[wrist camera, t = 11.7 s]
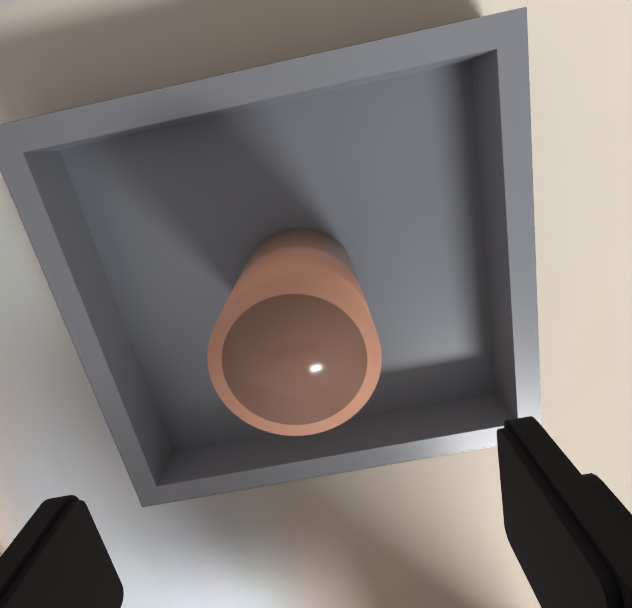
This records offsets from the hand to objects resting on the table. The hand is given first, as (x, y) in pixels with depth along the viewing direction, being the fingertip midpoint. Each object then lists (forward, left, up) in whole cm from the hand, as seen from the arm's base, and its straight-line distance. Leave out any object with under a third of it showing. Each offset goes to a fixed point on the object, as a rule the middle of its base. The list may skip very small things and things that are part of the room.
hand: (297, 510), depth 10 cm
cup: (+1, 0, -15) cm, 15 cm away
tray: (+1, 0, -16) cm, 16 cm away
